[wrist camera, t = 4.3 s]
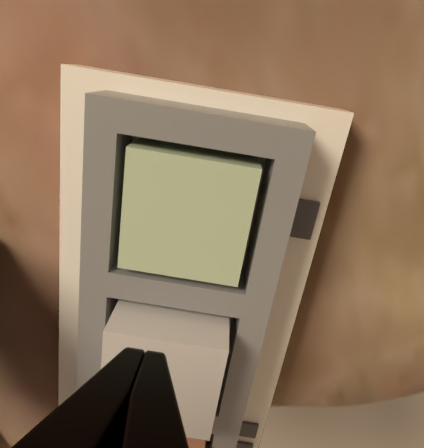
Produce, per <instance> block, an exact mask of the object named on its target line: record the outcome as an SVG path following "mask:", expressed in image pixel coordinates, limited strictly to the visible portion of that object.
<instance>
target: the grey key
mask: <svg viewBox="0 0 424 448" xmlns="http://www.w3.org/2000/svg"><path fill="white" fill-rule="evenodd" d="M126 347H131V348H137V349H143V350H144V351H145V352H146V351H148V350H150V351H157V352H163V353H164V354H165V356H166V359H167V363H168V367H169V371H170V375H171V379H172V383H173V387H174V391H175V395H176V399H177V403H178V407H179V411H180V414H181V418H182V422H183V426H184V430H185V434H186V437H188V438H194V439H201V440H207V441H210V437H211V433H212V428H213V423H214V419H215V414H216V409H217V405H218V400H219V395H220V391H221V386H222V382H223V377H224V372H225V368H226V363H227V358H228V354H229V317H227V316H221V315H215V314H209V313H203V312H196V311H190V310H184V309H178V308H172V307H165V306H159V305H153V304H147V303H141V302H134V301H128V300H122V299H119V300H118V302H117V304H116V306H115V308H114V310H113V312H112V314H111V316H110V318H109V320H108V322H107V324H106V326H105V328H104V330H103V341H102V358H101V369H102V368H103V367H104V366H105V365H106V364H107V363H108V362H109V361H111V360H112V359H113V358H114V357H115V356H116V355H117V354H119V353H120V352H121V351H122V350H123V349H124V348H126Z"/></svg>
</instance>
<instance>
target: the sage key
mask: <svg viewBox="0 0 424 448" xmlns="http://www.w3.org/2000/svg"><path fill="white" fill-rule="evenodd" d="M261 174H262V167H261V163H260V160H259V157H257V156H251V155H245V154H239V153H233V152H227V151H221V150H215V149H209V148H203V147H197V146H191V145H185V144H179V143H173V142H167V141H161V140H155V139H149V138H143V137H139V138H138V139H136V140H135V141H133V142H132V143H131V144H129V145H128V146H126V153H125V167H124V181H123V195H122V209H121V223H120V237H119V251H118V265H117V268H122V269H129V270H135V271H141V272H147V273H153V274H159V275H166V276H172V277H178V278H184V279H190V280H196V281H203V282H209V283H215V284H221V285H227V286H233V287H238V283H239V278H240V274H241V269H242V264H243V259H244V255H245V250H246V245H247V240H248V236H249V231H250V226H251V221H252V216H253V212H254V207H255V202H256V197H257V193H258V188H259V183H260V178H261Z"/></svg>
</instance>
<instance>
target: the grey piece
mask: <svg viewBox="0 0 424 448" xmlns="http://www.w3.org/2000/svg"><path fill="white" fill-rule="evenodd" d="M353 115H354V113H352V112H349V111H346V110H343V109H340V108H334V107H328V106H322V105H316V104H310V103H304V102H298V101H292V100H286V99H280V98H274V97H268V96H262V95H256V94H250V93H244V92H239V91H233V90H227V89H221V88H215V87H209V86H203V85H197V84H191V83H185V82H179V81H173V80H167V79H161V78H155V77H149V76H143V75H137V74H131V73H125V72H119V71H114V70H108V69H102V68H96V67H90V66H84V65H74V64H61V125H60V260H59V396H58V406H59V405H60V404H62V403H63V402H64V401H65V400H66V399H67V398H68V397H70V396H71V395H72V394H73V393H74V392H75V391H76V390H78V389H79V388H80V387H81V386H82V385H83V384H84V383H86V382H87V381H88V380H89V379H90V378H91V377H92V376H94V375H95V374H96V373H97V372H98V371H99V370H100V369H101V358H102V341H103V330H104V328H105V326H106V324H107V322H108V320H109V318H110V316H111V314H112V312H113V310H114V308H115V306H116V304H117V302H118V300H119V299H122V300H128V301H134V302H141V303H147V304H153V305H159V306H165V307H172V308H178V309H184V310H190V311H196V312H203V313H209V314H215V315H221V316H227V317H229V354H228V358H227V363H226V368H225V372H224V377H223V382H222V386H221V391H220V395H219V400H218V405H217V409H216V414H215V419H214V423H213V428H212V433H211V437H210V441H207V440H205V448H259V445H260V441H261V437H262V434H263V431H264V427H265V423H266V420H267V417H268V413H269V410H270V406H271V403H272V399H273V396H274V392H275V389H276V385H277V382H278V378H279V375H280V371H281V368H282V364H283V361H284V357H285V354H286V350H287V347H288V343H289V340H290V336H291V333H292V329H293V326H294V322H295V319H296V315H297V312H298V308H299V305H300V301H301V298H302V294H303V291H304V287H305V284H306V280H307V277H308V273H309V270H310V266H311V263H312V259H313V256H314V252H315V249H316V245H317V242H318V238H319V235H320V231H321V228H322V224H323V221H324V217H325V214H326V210H327V207H328V203H329V199H330V196H331V192H332V189H333V185H334V182H335V178H336V175H337V171H338V168H339V164H340V161H341V157H342V154H343V150H344V147H345V143H346V140H347V136H348V133H349V129H350V126H351V122H352V119H353ZM139 137H143V138H149V139H155V140H161V141H167V142H173V143H179V144H185V145H191V146H197V147H203V148H209V149H215V150H221V151H227V152H233V153H239V154H245V155H251V156H257V157H259V160H260V163H261V167H262V174H261V178H260V183H259V188H258V193H257V197H256V202H255V207H254V212H253V216H252V221H251V226H250V231H249V236H248V240H247V245H246V250H245V255H244V259H243V264H242V269H241V274H240V278H239V283H238V287H233V286H227V285H221V284H215V283H209V282H203V281H196V280H190V279H184V278H178V277H172V276H166V275H159V274H153V273H147V272H141V271H135V270H129V269H122V268H117V265H118V251H119V237H120V223H121V209H122V195H123V181H124V167H125V153H126V146H128V145H129V144H131V143H132V142H133V141H135V140H136V139H138V138H139Z"/></svg>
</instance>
